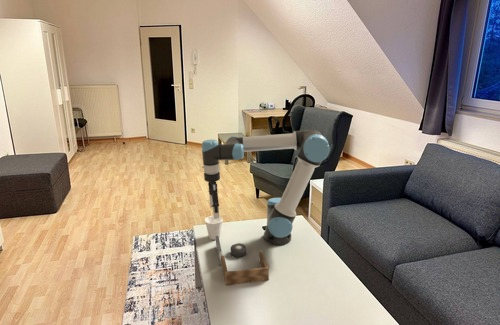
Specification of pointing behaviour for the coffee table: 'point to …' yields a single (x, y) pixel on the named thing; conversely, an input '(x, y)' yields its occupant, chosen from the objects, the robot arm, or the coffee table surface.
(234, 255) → the coil
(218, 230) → the cup
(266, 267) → the bay
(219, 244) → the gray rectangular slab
